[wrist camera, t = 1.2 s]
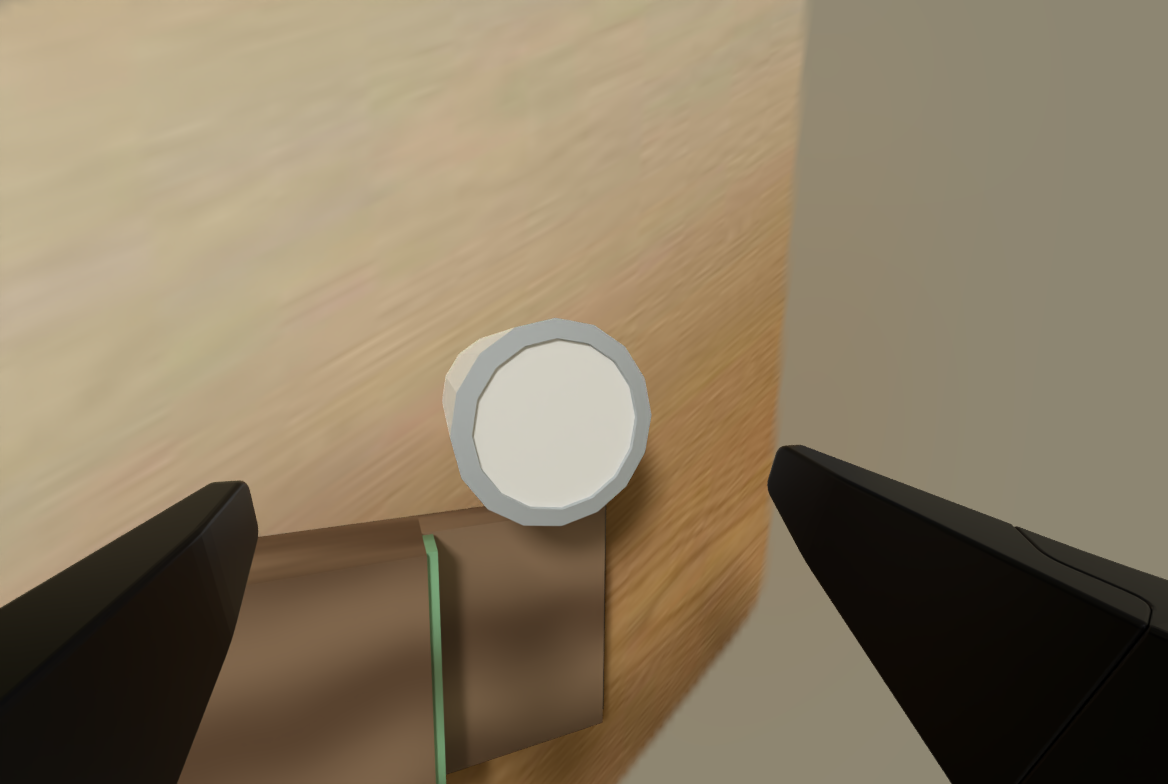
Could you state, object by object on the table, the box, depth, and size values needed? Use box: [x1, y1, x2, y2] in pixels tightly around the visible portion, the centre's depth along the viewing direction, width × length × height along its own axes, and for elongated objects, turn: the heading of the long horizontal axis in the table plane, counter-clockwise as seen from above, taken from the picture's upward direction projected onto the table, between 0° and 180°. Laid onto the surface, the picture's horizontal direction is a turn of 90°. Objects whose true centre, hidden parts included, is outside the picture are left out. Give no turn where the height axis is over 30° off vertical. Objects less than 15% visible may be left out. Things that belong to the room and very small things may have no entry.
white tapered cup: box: [442, 318, 651, 526], centre depth 19 cm, size 7×7×7 cm
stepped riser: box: [177, 505, 606, 784], centre depth 20 cm, size 11×19×4 cm, turn 89°
